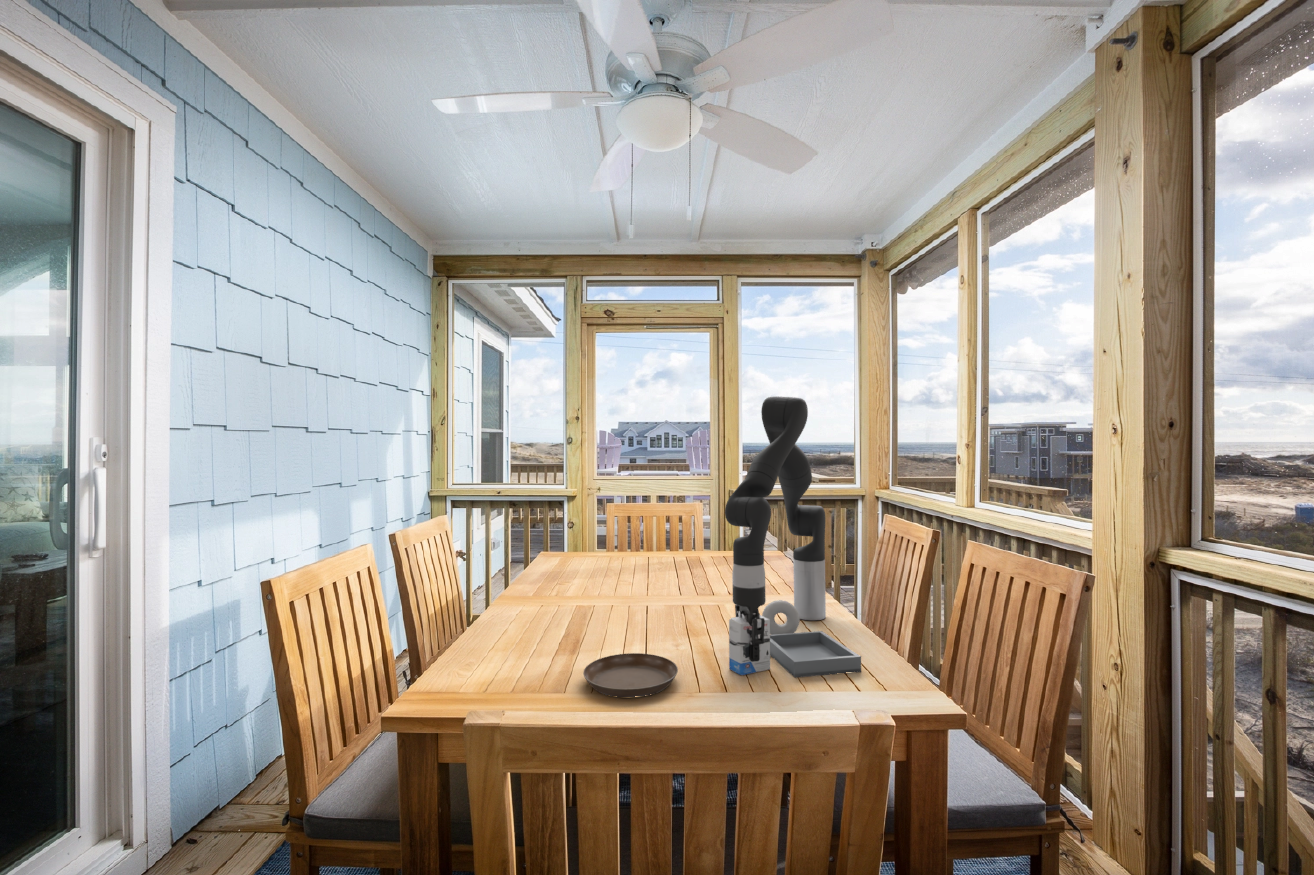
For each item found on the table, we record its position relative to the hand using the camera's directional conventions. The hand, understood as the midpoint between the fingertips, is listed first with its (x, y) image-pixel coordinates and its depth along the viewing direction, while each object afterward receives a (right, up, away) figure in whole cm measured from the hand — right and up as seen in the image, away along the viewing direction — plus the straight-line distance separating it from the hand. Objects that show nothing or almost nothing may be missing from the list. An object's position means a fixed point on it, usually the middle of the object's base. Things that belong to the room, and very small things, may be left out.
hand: (749, 655), depth 144 cm
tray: (+15, -3, +6) cm, 17 cm away
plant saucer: (-27, -4, -7) cm, 28 cm away
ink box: (0, -3, 0) cm, 3 cm away
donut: (+12, -3, +24) cm, 27 cm away
